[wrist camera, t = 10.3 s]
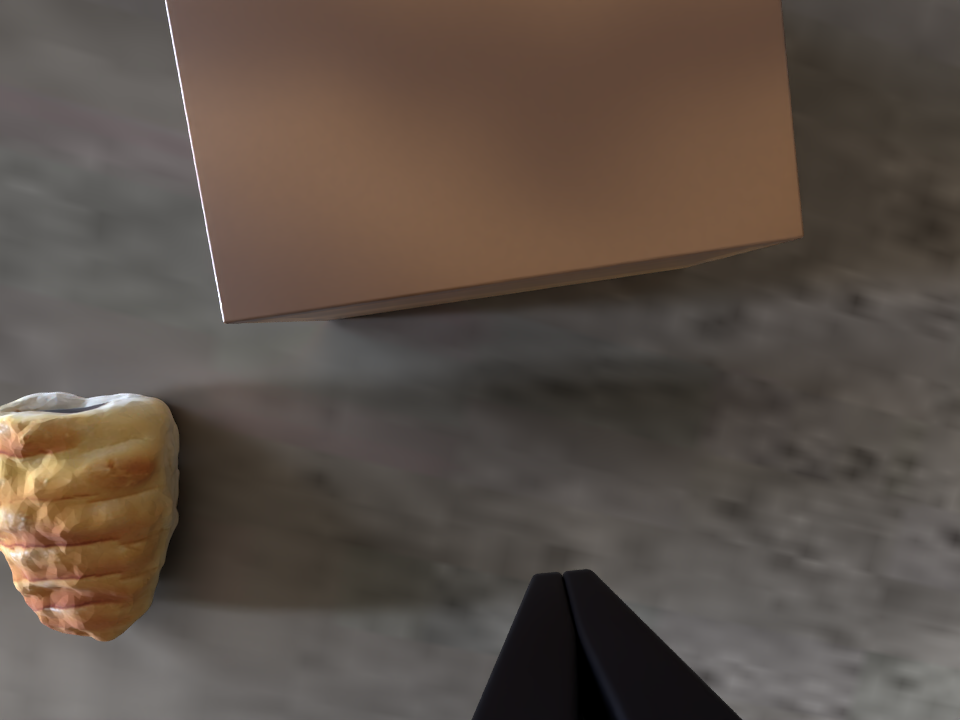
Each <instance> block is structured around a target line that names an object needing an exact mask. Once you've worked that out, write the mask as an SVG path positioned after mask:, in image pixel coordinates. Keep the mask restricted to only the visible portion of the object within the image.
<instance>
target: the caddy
mask: <svg viewBox="0 0 960 720" xmlns="http://www.w3.org/2000/svg"><path fill="white" fill-rule="evenodd" d="M779 244H780V243H779ZM773 245H777V244H772V245H766V246H759V247H752V248H745V249H739V250H732V251H725V252H718V253H712V254H705V255H698V256H691V257H685V258H678V259H671V260H664V261H658V262H651V263H644V264H638V265H631V266H624V267H617V268H611V269H604V270H597V271H590V272H584V273H577V274H570V275H563V276H557V277H550V278H543V279H536V280H530V281H523V282H516V283H509V284H503V285H496V286H489V287H482V288H476V289H469V290H462V291H455V292H449V293H442V294H435V295H428V296H422V297H415V298H408V299H401V300H395V301H388V302H381V303H374V304H368V305H361V306H354V307H347V308H341V309H334V310H327V311H320V312H314V313H307V314H300V315H293V316H287V317H280V318H273V319H266V320H260V321H253V322H246V323H261V322H292V321H327V320H335V319H342V318H349V317H356V316H362V315H369V314H376V313H383V312H389V311H396V310H403V309H410V308H417V307H423V306H430V305H437V304H444V303H451V302H457V301H464V300H471V299H478V298H485V297H491V296H498V295H505V294H512V293H519V292H525V291H532V290H539V289H546V288H553V287H559V286H566V285H573V284H580V283H586V282H593V281H600V280H607V279H614V278H620V277H627V276H634V275H641V274H648V273H654V272H661V271H668V270H675V269H682V268H687V267H691V266H694V265H698V264H702V263H706V262H710V261H714V260H718V259H722V258H726V257H730V256H734V255H738V254H741V253H745V252H749V251H753V250H757V249H761V248H765V247H769V246H773Z"/></svg>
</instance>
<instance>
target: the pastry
mask: <svg viewBox="0 0 960 720" xmlns="http://www.w3.org/2000/svg"><path fill="white" fill-rule="evenodd" d="M178 453H179V431H178V428H177V425H176V423H175V421H174V419H173V416H172V414H171V411H170V409H169V408H168V406H167V405H166V404H165V403H164V402H163V401H162V400H160V399H158V398H153V397H147V396H144V395H139V394H122V393H121V394H116V395H110V396H99V397H93V398H88V399H85V398H82V397H78V396H76V395H73V394H69V393H63V392H54V393H37V394H33V395H29V396H25V397H23V398H21V399H18V400H16V401H14V402H11V403H8V404H6V405H3V406H0V551H1V552H3V553H4V555H5V557H6V560H7V561H8V563H9V566H10V568H11V571H12V573H13V581H14V584H15V586H16V588H17V590H19V591H20V592H21V594H22V595H23V596H24V599H25V602H26V603H27V604H28V605H29V606H30V607H31V608H32V609H33V611H34V612H35V613H36V614H37V615H38V617H39V619H40V621H41V622H42V623H43V624H44V625H46V626H48V627H49V628H51V629H53V630H56V631H59V632H62V633H67V634H74V635H80V636H91V637H93V638H95V639H96V640H98V641H110V640H113V639H115V638H116V637H118V636H119V635H121V634H122V633H124V632H125V631H126V630H127V629H128V628H129V627H130V626H131V625H132V624H133V623H134V622H135V621H136V620H137V619H139V618H140V617H141V616H142V615H143V614H144V613H145V612H146V611H147V610H148V609H149V607H150V606H151V604H152V601H153V596H154V592H155V588H156V586H157V583H158V580H159V572H160V570H161V568H162V566H163V565H164V563H165V558H166V552H167V548H168V545H169V541H170V539H171V536H172V534H173V532H174V530H175V528H176V526H177V524H178V519H179V514H178V511H177V509H176V506H177V501H178V496H179V475H180V471H179V470H178Z"/></svg>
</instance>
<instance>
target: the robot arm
mask: <svg viewBox="0 0 960 720" xmlns="http://www.w3.org/2000/svg"><path fill="white" fill-rule="evenodd" d="M472 720H742V719H741V718H740V717H739V716H738V715H737V714H736V713H735V712H734V711H733V710H732V709H731V708H730V707H729V706H728V705H727V704H726V703H725V702H724V701H723V700H722V699H721V698H720V697H719V696H718V695H717V694H716V693H715V692H714V691H713V690H712V689H711V688H710V687H709V686H708V685H707V684H706V683H705V682H704V681H703V680H702V679H701V678H700V677H699V676H698V675H697V674H696V673H695V672H694V671H693V670H692V669H691V668H690V667H689V666H688V665H687V664H686V663H685V662H684V661H683V660H682V659H681V658H680V657H679V656H678V655H677V654H676V653H675V652H674V651H673V650H672V649H670V648H669V647H668V646H667V645H666V644H665V643H664V642H663V641H662V640H661V639H660V638H659V637H658V636H657V635H656V634H655V633H654V632H653V631H652V630H651V629H650V628H649V627H648V626H647V625H646V624H645V623H644V622H643V621H642V620H641V619H640V618H639V617H638V616H637V615H636V614H635V613H634V612H633V611H632V610H631V609H630V608H629V607H628V606H627V605H626V604H625V603H624V602H623V601H622V600H621V599H620V598H619V597H618V596H617V595H616V594H615V593H614V592H613V591H612V590H611V589H610V588H609V587H608V586H607V585H606V584H605V583H604V582H603V581H602V580H601V579H600V578H599V577H598V576H597V575H596V574H595V573H594V572H593V571H591V570H589V569H583V570H573V571H566V572H564V573H563V577H562V575H561V574H560V573H559V572H552V573H541V574H535V575H534V576H533V577H532V579H531V581H530V584H529V586H528V588H527V591H526V593H525V595H524V598H523V600H522V602H521V605H520V607H519V609H518V612H517V614H516V617H515V619H514V621H513V624H512V626H511V628H510V631H509V633H508V635H507V638H506V640H505V642H504V645H503V647H502V650H501V652H500V654H499V657H498V659H497V661H496V664H495V666H494V668H493V671H492V673H491V675H490V678H489V680H488V683H487V685H486V687H485V690H484V692H483V694H482V697H481V699H480V701H479V704H478V706H477V708H476V711H475V713H474V716H473V718H472Z"/></svg>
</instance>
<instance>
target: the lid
mask: <svg viewBox="0 0 960 720" xmlns="http://www.w3.org/2000/svg"><path fill="white" fill-rule="evenodd" d="M165 3H166V9H167V14H168V20H169V25H170V31H171V36H172V42H173V47H174V53H175V58H176V64H177V70H178V75H179V81H180V86H181V92H182V97H183V103H184V108H185V114H186V119H187V125H188V130H189V136H190V141H191V147H192V152H193V158H194V163H195V169H196V174H197V180H198V185H199V191H200V196H201V202H202V207H203V213H204V218H205V224H206V229H207V235H208V240H209V246H210V251H211V257H212V262H213V268H214V273H215V279H216V285H217V290H218V296H219V301H220V307H221V312H222V318H223V322H224V323H226V324H234V323H246V322H253V321H260V320H266V319H273V318H280V317H287V316H293V315H300V314H307V313H314V312H320V311H327V310H334V309H341V308H347V307H354V306H361V305H368V304H374V303H381V302H388V301H395V300H401V299H408V298H415V297H422V296H428V295H435V294H442V293H449V292H455V291H462V290H469V289H476V288H482V287H489V286H496V285H503V284H509V283H516V282H523V281H530V280H536V279H543V278H550V277H557V276H563V275H570V274H577V273H584V272H590V271H597V270H604V269H611V268H617V267H624V266H631V265H638V264H644V263H651V262H658V261H664V260H671V259H678V258H685V257H691V256H698V255H705V254H712V253H718V252H725V251H732V250H739V249H745V248H752V247H759V246H766V245H772V244H779V243H785V242H789V241H793V240H797V239H801V238H802V237H803V236H804V231H803V221H802V210H801V200H800V189H799V179H798V169H797V158H796V148H795V137H794V127H793V117H792V106H791V96H790V86H789V75H788V65H787V54H786V44H785V34H784V23H783V13H782V2H781V0H165Z"/></svg>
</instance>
